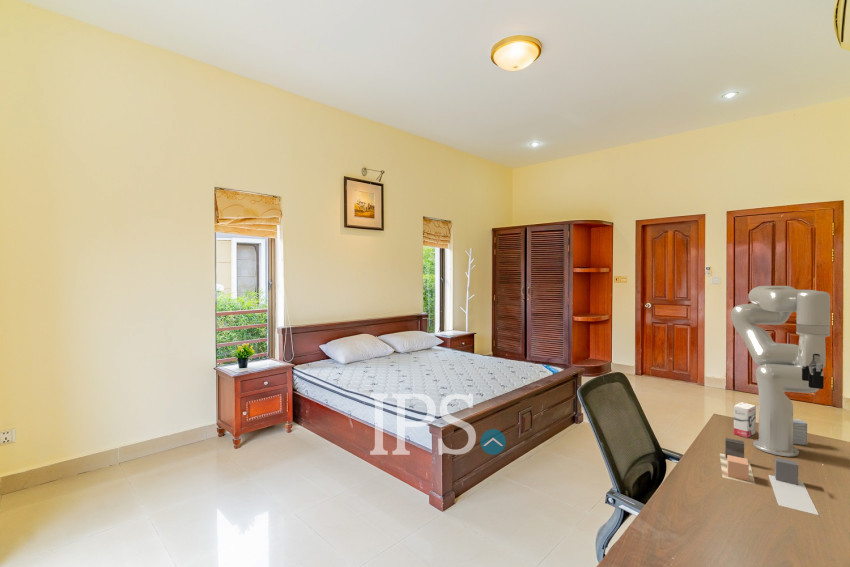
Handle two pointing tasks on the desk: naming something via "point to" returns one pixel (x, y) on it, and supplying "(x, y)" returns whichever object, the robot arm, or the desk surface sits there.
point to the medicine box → (799, 432)
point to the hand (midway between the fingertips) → (812, 384)
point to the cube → (737, 467)
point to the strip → (790, 487)
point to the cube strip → (725, 474)
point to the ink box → (744, 419)
